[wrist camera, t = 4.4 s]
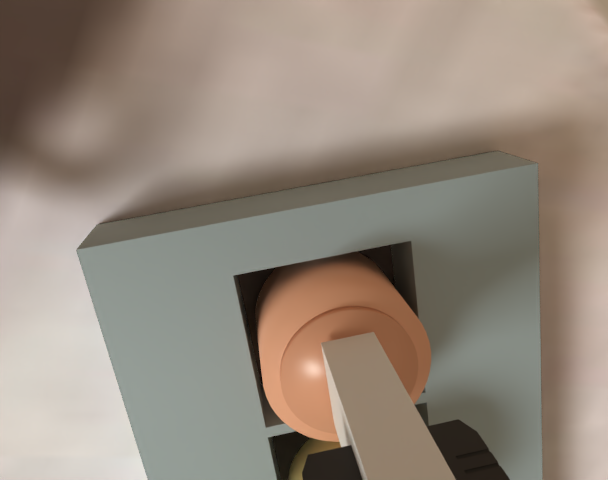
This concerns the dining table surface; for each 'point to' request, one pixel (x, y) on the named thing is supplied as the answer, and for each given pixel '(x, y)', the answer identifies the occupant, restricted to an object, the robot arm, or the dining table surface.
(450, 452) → the robot arm
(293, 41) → the dining table surface
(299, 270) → the button terracotta
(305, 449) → the button ochre
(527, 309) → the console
